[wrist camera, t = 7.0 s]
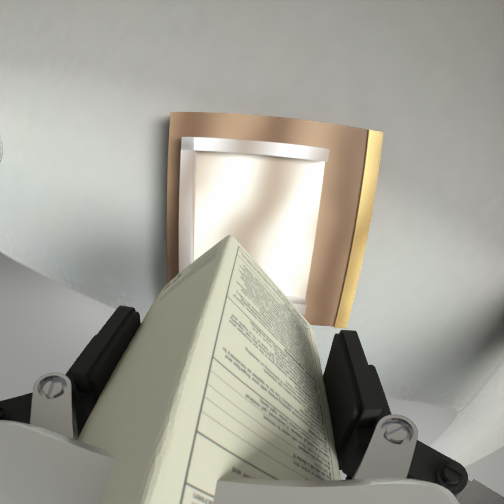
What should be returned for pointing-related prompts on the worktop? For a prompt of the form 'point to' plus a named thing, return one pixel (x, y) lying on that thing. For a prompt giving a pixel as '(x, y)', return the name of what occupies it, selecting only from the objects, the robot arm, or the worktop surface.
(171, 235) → the dock
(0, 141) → the house plant
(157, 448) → the skincare box
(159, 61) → the worktop surface
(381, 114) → the worktop surface
